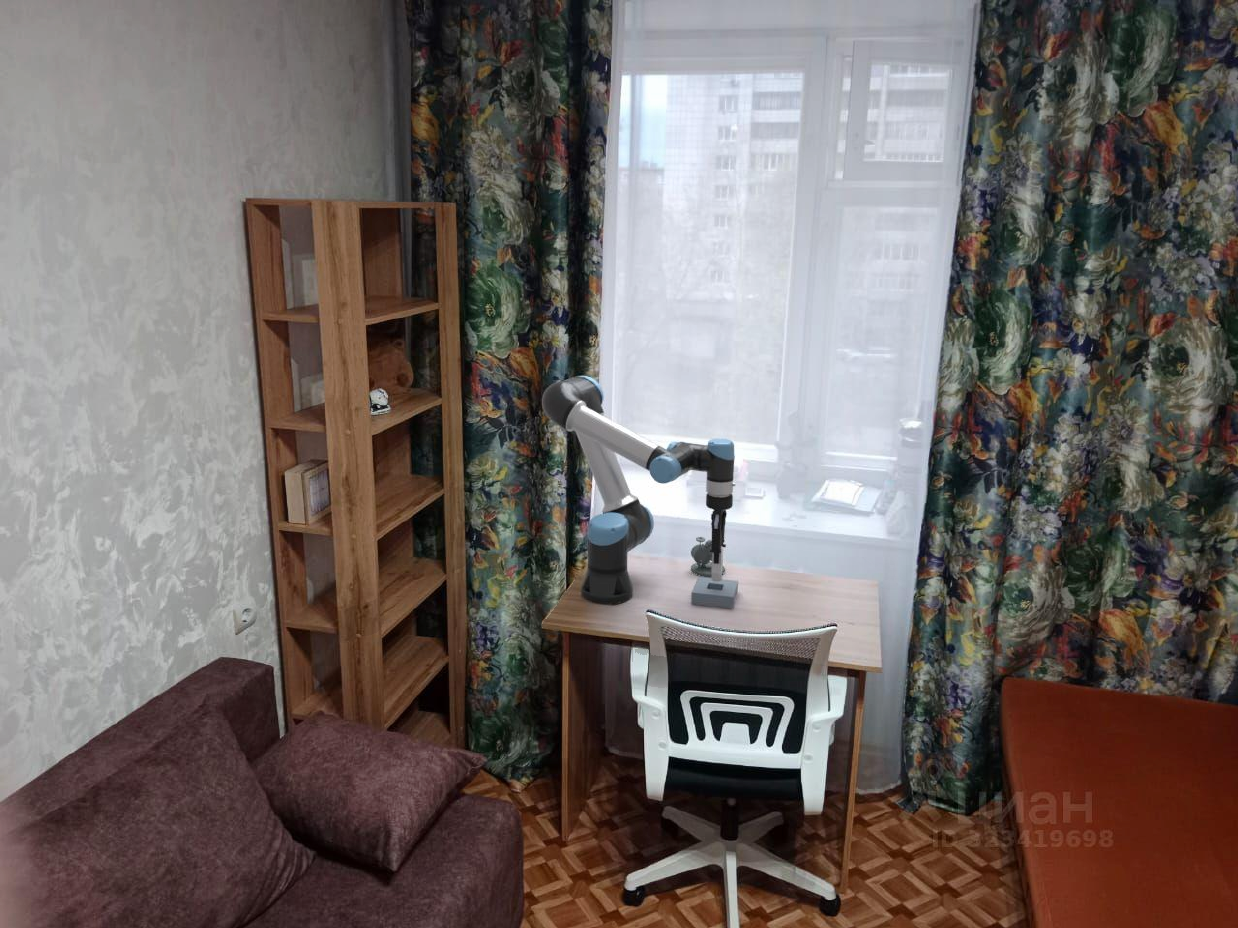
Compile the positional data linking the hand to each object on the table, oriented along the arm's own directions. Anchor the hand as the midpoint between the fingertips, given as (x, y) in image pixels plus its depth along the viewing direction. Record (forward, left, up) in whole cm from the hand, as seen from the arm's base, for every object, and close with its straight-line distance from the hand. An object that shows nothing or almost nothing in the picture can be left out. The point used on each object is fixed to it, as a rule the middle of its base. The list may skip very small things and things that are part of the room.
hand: (717, 570), depth 267 cm
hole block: (0, 0, -9) cm, 9 cm away
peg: (0, 0, -3) cm, 3 cm away
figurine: (-5, +20, -9) cm, 23 cm away
